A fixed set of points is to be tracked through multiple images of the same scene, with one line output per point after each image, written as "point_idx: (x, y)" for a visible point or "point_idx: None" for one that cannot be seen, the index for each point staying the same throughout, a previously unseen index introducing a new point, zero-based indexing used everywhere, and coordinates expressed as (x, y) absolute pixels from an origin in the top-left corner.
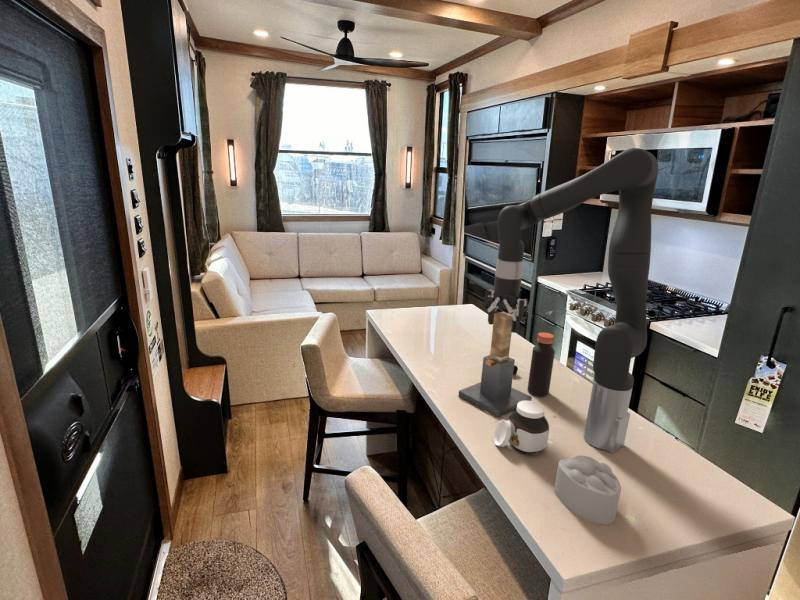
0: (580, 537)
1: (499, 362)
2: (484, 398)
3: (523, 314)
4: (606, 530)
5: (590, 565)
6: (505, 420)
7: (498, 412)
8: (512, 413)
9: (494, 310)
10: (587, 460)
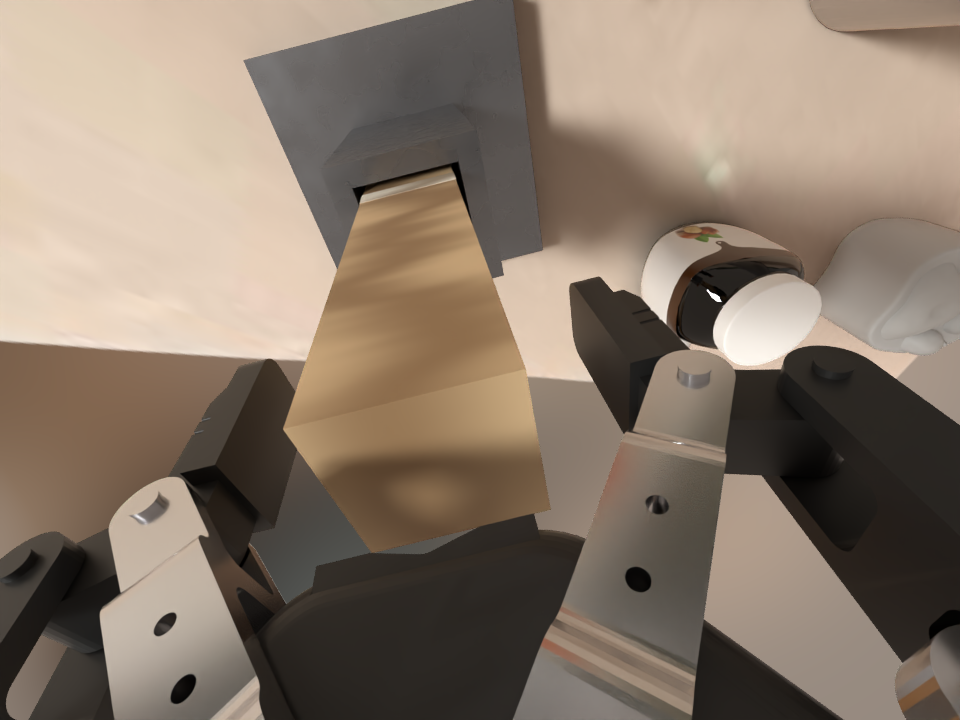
0: None
1: None
2: None
3: (839, 428)
4: None
5: (906, 363)
6: None
7: (539, 249)
8: (696, 343)
9: (208, 510)
10: (955, 300)
